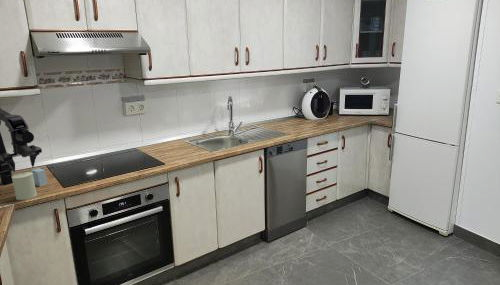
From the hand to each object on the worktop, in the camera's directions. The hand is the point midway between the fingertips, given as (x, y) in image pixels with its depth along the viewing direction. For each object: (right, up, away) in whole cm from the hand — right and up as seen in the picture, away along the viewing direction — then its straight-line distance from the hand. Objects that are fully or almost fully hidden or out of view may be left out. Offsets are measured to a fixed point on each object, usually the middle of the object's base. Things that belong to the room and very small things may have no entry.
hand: (23, 169), depth 190 cm
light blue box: (+3, -9, +9) cm, 13 cm away
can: (+6, -13, -7) cm, 17 cm away
